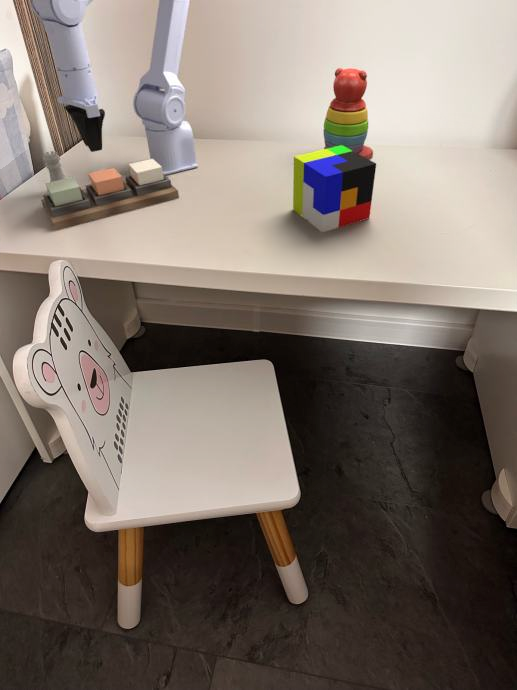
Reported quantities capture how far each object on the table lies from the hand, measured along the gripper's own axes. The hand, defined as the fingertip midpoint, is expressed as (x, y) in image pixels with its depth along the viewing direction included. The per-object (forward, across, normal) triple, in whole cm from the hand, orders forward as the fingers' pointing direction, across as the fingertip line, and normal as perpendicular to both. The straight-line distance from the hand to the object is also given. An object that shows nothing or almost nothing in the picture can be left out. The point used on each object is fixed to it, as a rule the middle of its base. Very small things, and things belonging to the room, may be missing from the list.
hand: (93, 147), depth 94 cm
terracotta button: (+6, +4, 0) cm, 8 cm away
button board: (+9, +4, 0) cm, 10 cm away
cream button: (+6, +4, +8) cm, 11 cm away
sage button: (+6, +4, -8) cm, 11 cm away
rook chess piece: (+10, -6, -7) cm, 13 cm away
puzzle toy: (+10, +31, +33) cm, 46 cm away
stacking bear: (+10, +11, +51) cm, 53 cm away
